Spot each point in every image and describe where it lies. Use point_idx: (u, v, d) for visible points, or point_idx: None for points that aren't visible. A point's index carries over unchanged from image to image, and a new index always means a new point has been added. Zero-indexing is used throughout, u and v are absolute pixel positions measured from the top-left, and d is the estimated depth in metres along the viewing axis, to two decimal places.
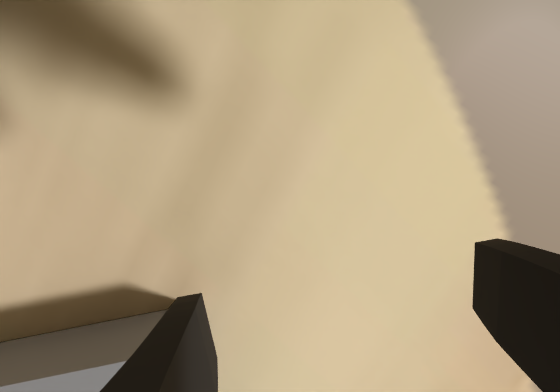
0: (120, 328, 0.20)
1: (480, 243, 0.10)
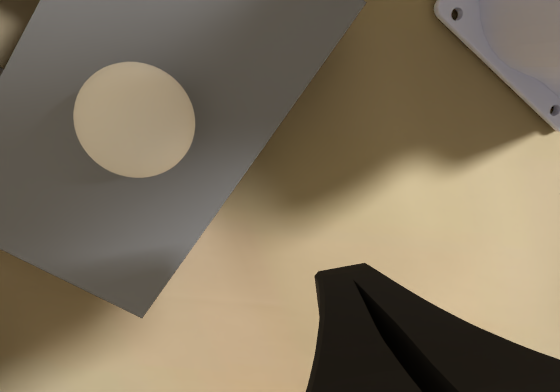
0: None
1: (343, 268, 0.09)
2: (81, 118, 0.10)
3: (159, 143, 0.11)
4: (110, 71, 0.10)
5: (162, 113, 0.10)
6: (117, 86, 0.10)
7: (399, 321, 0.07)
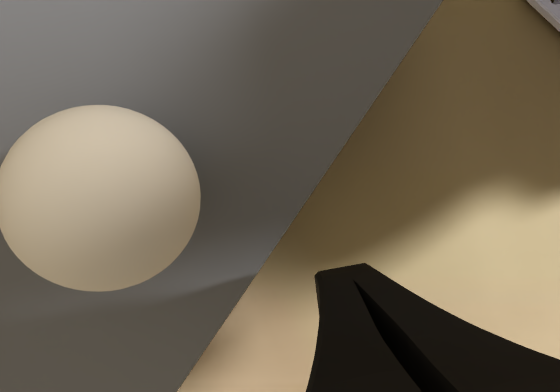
0: None
1: (343, 268, 0.09)
2: (2, 214, 0.06)
3: (141, 246, 0.06)
4: (48, 129, 0.06)
5: (143, 197, 0.06)
6: (59, 158, 0.06)
7: (399, 321, 0.07)
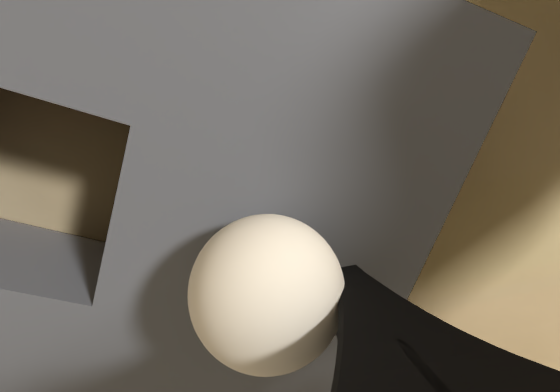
0: None
1: None
2: (196, 321, 0.08)
3: (304, 335, 0.07)
4: (219, 248, 0.08)
5: (299, 291, 0.07)
6: (231, 271, 0.07)
7: (384, 324, 0.06)
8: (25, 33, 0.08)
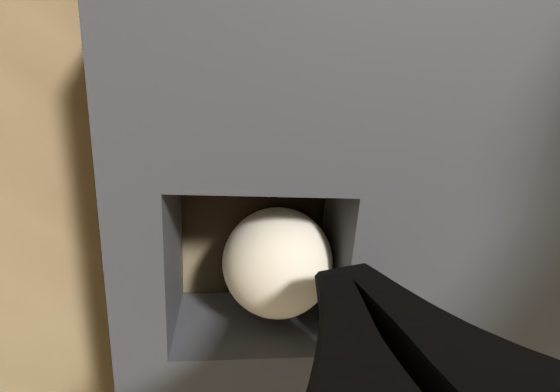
0: None
1: (343, 268, 0.09)
2: (269, 277, 0.10)
3: (266, 211, 0.12)
4: (228, 280, 0.11)
5: (242, 221, 0.12)
6: (230, 259, 0.11)
7: (399, 321, 0.07)
8: (271, 147, 0.09)
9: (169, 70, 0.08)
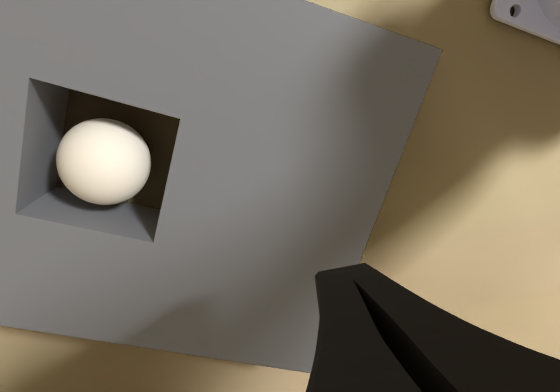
0: None
1: (343, 268, 0.09)
2: (63, 150, 0.14)
3: (106, 118, 0.15)
4: None
5: None
6: None
7: (399, 321, 0.07)
8: (117, 63, 0.13)
9: None
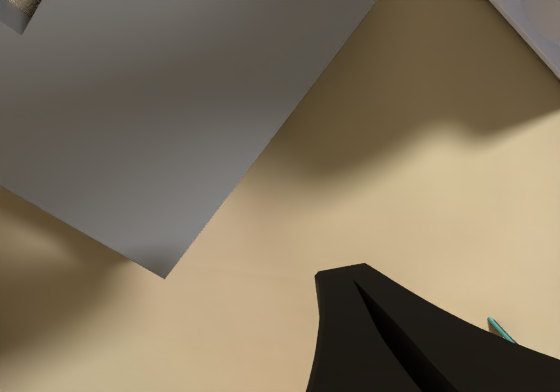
0: None
1: (343, 268, 0.09)
2: None
3: None
4: None
5: None
6: None
7: (399, 321, 0.07)
8: None
9: None
